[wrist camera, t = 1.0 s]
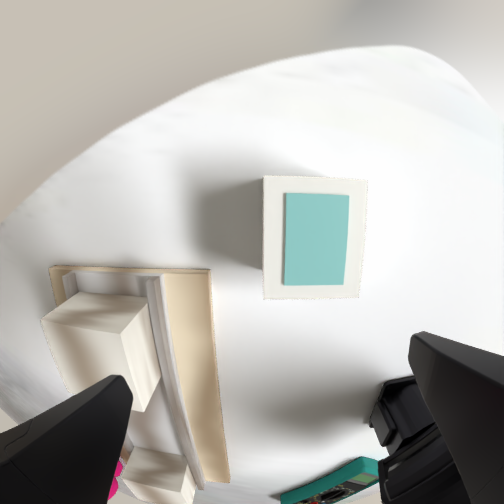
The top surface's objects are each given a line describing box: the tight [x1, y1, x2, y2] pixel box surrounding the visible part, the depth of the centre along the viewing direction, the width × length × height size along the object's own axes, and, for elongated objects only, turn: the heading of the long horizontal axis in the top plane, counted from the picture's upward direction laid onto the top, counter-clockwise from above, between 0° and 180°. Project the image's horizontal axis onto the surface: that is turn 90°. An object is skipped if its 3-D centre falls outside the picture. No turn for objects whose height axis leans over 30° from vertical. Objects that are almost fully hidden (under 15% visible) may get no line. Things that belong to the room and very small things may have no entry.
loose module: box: [262, 175, 368, 299], centre depth 15 cm, size 5×6×5 cm
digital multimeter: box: [281, 457, 379, 504], centre depth 25 cm, size 7×15×3 cm, turn 138°
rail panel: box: [40, 265, 230, 504], centre depth 19 cm, size 14×28×7 cm, turn 0°
